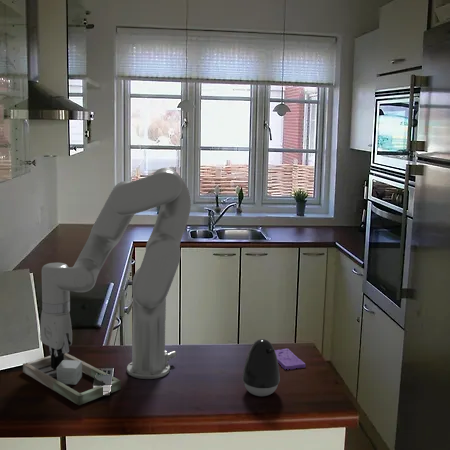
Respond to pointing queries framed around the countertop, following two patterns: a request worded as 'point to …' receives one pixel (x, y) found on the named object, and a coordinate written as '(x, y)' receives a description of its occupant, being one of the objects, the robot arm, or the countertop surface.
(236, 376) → the countertop surface
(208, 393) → the countertop surface
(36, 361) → the rectangular open frame tray
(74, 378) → the small box
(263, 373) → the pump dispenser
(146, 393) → the countertop surface
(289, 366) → the sponges
